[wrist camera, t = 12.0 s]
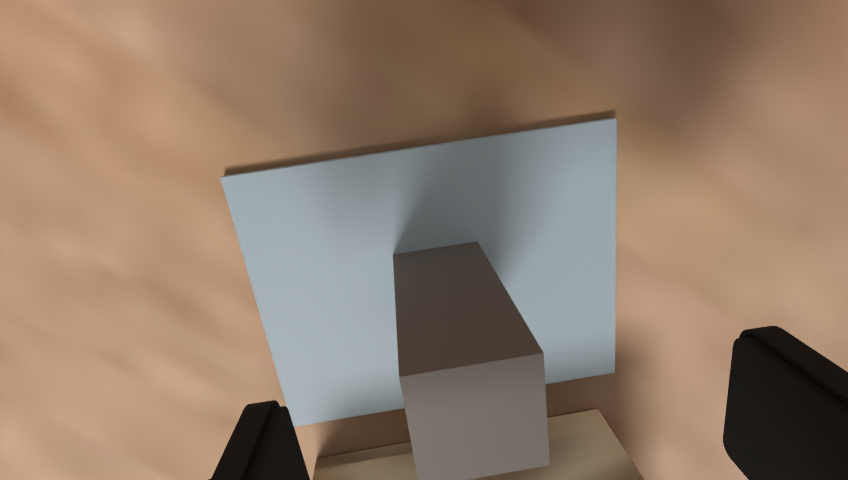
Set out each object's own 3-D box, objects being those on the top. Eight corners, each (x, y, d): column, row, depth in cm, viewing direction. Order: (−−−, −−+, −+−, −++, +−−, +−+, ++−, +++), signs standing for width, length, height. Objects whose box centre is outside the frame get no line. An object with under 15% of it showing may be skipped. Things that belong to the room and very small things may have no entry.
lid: (605, 116, 16) (802, 146, 8) (605, 361, 19) (746, 536, 12) (228, 172, 15) (82, 256, 8) (296, 412, 19) (239, 629, 11)
